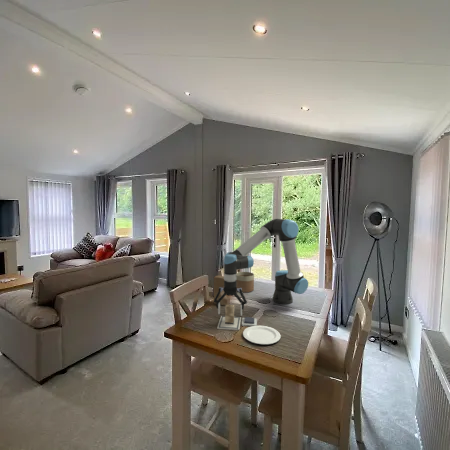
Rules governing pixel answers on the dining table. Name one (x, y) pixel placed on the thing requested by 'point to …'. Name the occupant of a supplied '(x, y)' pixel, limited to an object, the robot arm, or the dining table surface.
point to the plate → (261, 335)
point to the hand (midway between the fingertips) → (230, 314)
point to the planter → (245, 281)
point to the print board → (229, 326)
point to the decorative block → (220, 283)
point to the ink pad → (249, 321)
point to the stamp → (229, 314)
